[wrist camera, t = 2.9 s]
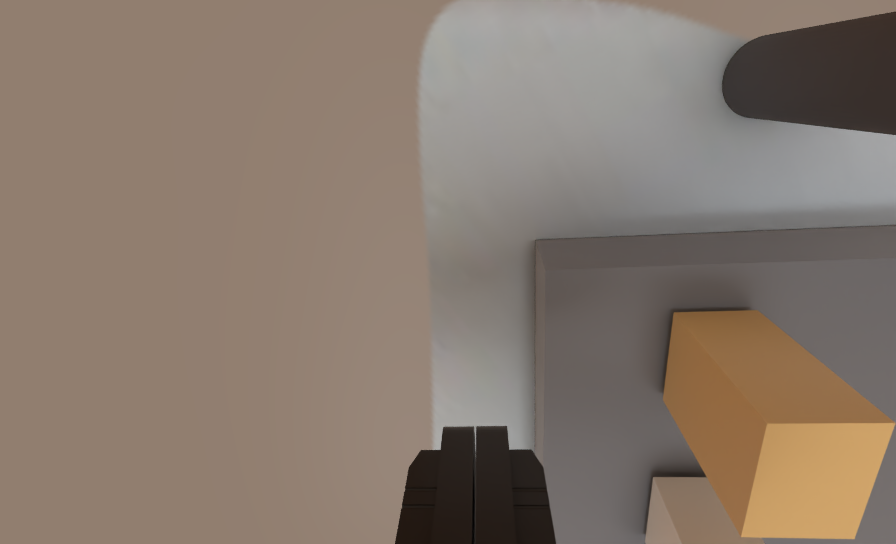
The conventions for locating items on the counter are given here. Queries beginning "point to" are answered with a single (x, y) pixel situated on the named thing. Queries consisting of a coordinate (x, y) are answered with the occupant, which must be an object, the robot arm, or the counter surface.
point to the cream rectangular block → (689, 514)
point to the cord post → (819, 76)
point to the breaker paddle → (772, 426)
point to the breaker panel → (647, 347)
